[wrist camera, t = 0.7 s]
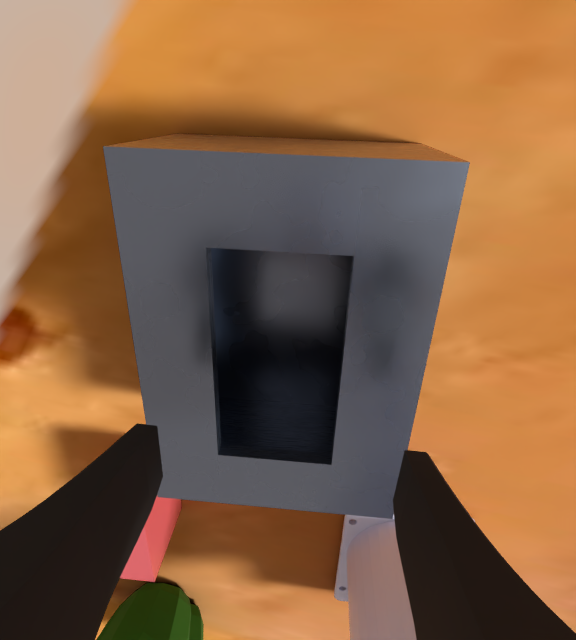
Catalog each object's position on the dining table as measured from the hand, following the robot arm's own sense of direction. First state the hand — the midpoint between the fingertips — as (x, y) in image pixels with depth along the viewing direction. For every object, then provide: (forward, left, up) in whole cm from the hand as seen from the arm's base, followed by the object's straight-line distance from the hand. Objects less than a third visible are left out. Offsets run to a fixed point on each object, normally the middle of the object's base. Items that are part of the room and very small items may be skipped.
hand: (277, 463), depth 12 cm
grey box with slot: (+1, 0, -10) cm, 10 cm away
